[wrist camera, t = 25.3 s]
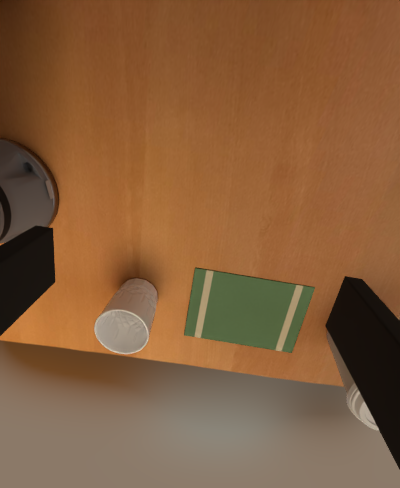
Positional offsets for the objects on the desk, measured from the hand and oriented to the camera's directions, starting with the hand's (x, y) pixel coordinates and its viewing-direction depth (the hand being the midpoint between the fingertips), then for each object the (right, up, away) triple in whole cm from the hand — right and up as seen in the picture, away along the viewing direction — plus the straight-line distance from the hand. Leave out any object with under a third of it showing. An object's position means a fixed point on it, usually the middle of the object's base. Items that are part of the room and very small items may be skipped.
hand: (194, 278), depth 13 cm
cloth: (+8, -10, +38) cm, 40 cm away
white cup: (-10, -7, +38) cm, 40 cm away
